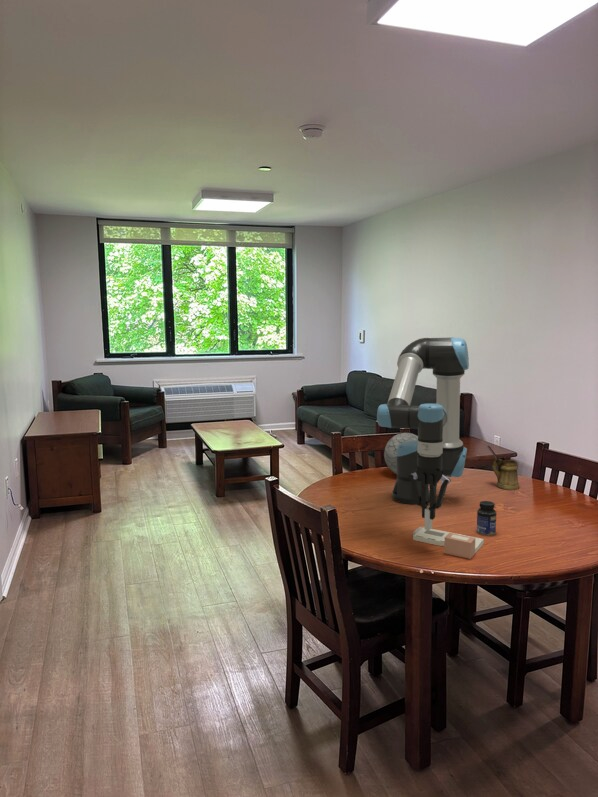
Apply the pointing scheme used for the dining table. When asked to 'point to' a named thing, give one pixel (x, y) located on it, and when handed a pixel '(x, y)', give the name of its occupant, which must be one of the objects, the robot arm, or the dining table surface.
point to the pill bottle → (486, 518)
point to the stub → (459, 545)
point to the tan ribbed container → (505, 473)
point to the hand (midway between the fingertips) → (428, 528)
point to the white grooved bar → (440, 537)
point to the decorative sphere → (392, 446)
